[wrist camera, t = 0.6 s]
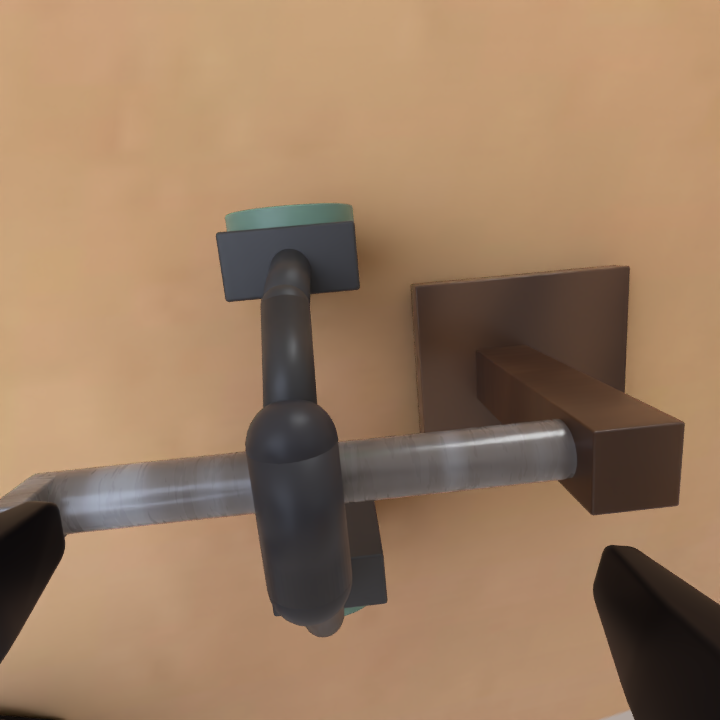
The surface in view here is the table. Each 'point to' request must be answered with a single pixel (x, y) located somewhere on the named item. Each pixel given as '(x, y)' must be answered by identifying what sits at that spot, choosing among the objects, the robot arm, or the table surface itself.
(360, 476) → the hook stand
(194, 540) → the table surface
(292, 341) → the headphones
